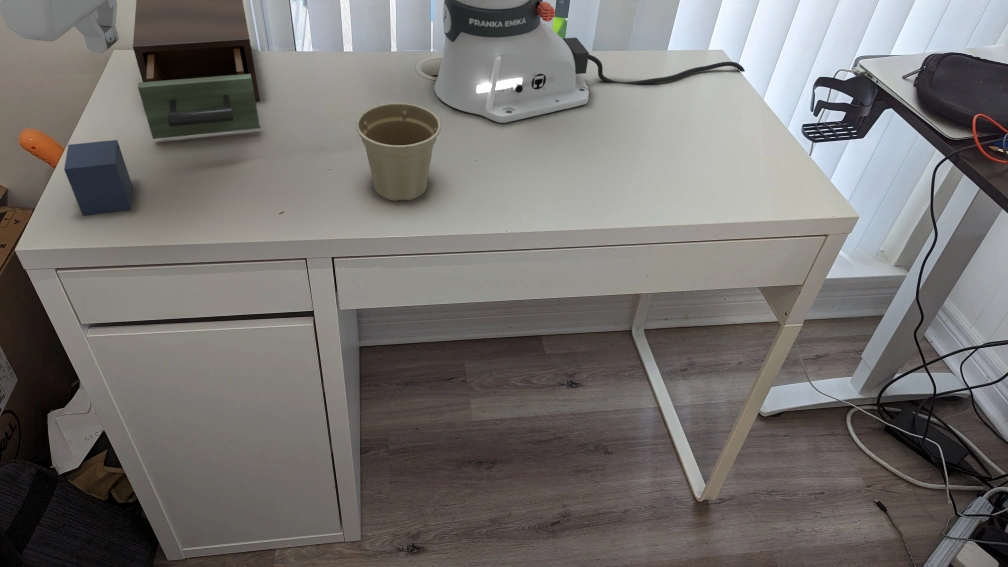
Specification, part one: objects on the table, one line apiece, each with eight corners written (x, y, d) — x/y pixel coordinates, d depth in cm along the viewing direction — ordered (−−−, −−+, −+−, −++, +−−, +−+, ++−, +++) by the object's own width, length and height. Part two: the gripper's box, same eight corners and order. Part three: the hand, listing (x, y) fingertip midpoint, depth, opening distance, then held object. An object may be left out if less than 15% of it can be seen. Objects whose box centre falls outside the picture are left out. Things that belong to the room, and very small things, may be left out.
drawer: (263, 149, 88) (254, 98, 84) (152, 161, 85) (136, 108, 80) (251, 75, 102) (242, 28, 97) (154, 83, 98) (141, 34, 94)
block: (132, 185, 83) (117, 139, 79) (130, 209, 79) (115, 163, 75) (85, 190, 81) (68, 144, 77) (82, 215, 78) (63, 169, 74)
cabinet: (260, 100, 99) (249, 38, 93) (150, 110, 95) (132, 46, 89) (251, 50, 110) (241, -8, 104) (152, 57, 106) (136, -3, 100)
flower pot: (427, 217, 82) (427, 152, 76) (348, 202, 83) (342, 137, 77) (448, 173, 89) (450, 110, 83) (375, 159, 90) (372, 96, 84)
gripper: (83, -136, 71) (122, 4, 81) (-51, -74, 56) (15, 89, 65) (146, -129, 71) (178, 10, 81) (29, -66, 56) (84, 97, 65)
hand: (104, 46), depth 73 cm, fingers closed
